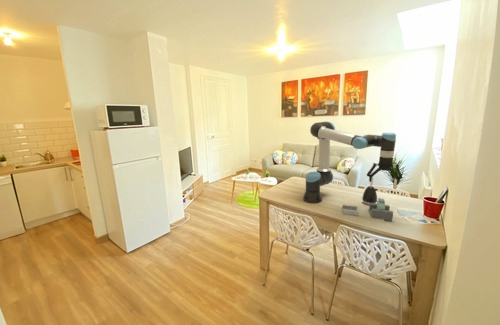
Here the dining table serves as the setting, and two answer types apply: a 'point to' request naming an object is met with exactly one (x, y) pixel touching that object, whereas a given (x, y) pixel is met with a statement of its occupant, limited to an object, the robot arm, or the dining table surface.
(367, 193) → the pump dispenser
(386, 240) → the dining table surface
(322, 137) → the robot arm
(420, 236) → the dining table surface
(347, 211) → the holster
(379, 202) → the plug
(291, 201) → the dining table surface
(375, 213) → the port
